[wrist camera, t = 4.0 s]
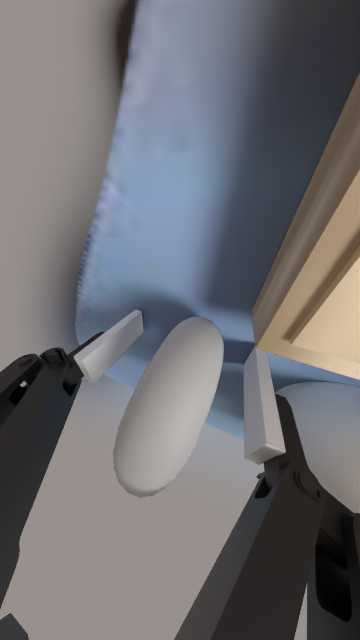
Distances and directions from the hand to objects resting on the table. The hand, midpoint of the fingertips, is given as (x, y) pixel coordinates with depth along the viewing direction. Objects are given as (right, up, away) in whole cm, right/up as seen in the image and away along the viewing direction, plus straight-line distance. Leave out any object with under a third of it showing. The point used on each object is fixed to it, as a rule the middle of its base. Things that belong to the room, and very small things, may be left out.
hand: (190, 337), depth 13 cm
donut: (+1, 0, 0) cm, 1 cm away
